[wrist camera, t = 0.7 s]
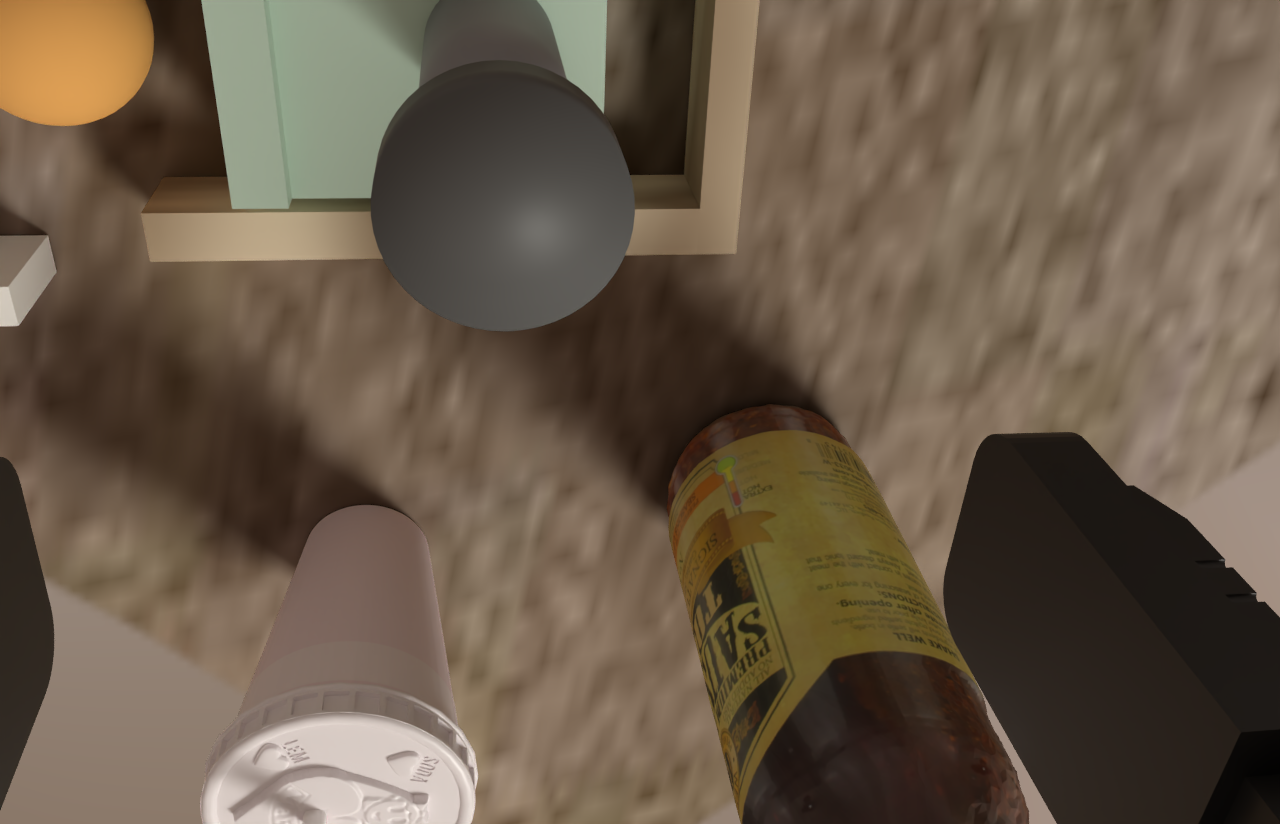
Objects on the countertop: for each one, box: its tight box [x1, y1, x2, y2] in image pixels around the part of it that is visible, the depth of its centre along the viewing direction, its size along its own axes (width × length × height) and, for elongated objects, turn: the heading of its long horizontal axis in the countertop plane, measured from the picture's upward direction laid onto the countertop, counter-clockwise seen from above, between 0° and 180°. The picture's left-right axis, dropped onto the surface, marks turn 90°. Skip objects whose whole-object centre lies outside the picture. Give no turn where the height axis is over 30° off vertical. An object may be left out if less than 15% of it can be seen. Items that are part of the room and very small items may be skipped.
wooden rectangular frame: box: [141, 0, 760, 262], centre depth 26 cm, size 14×10×2 cm
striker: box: [201, 0, 635, 331], centre depth 22 cm, size 8×7×13 cm
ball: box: [0, 0, 154, 126], centre depth 25 cm, size 4×4×4 cm
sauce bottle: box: [667, 404, 1029, 824], centre depth 27 cm, size 7×6×20 cm
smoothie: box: [200, 505, 478, 824], centre depth 29 cm, size 6×6×14 cm
